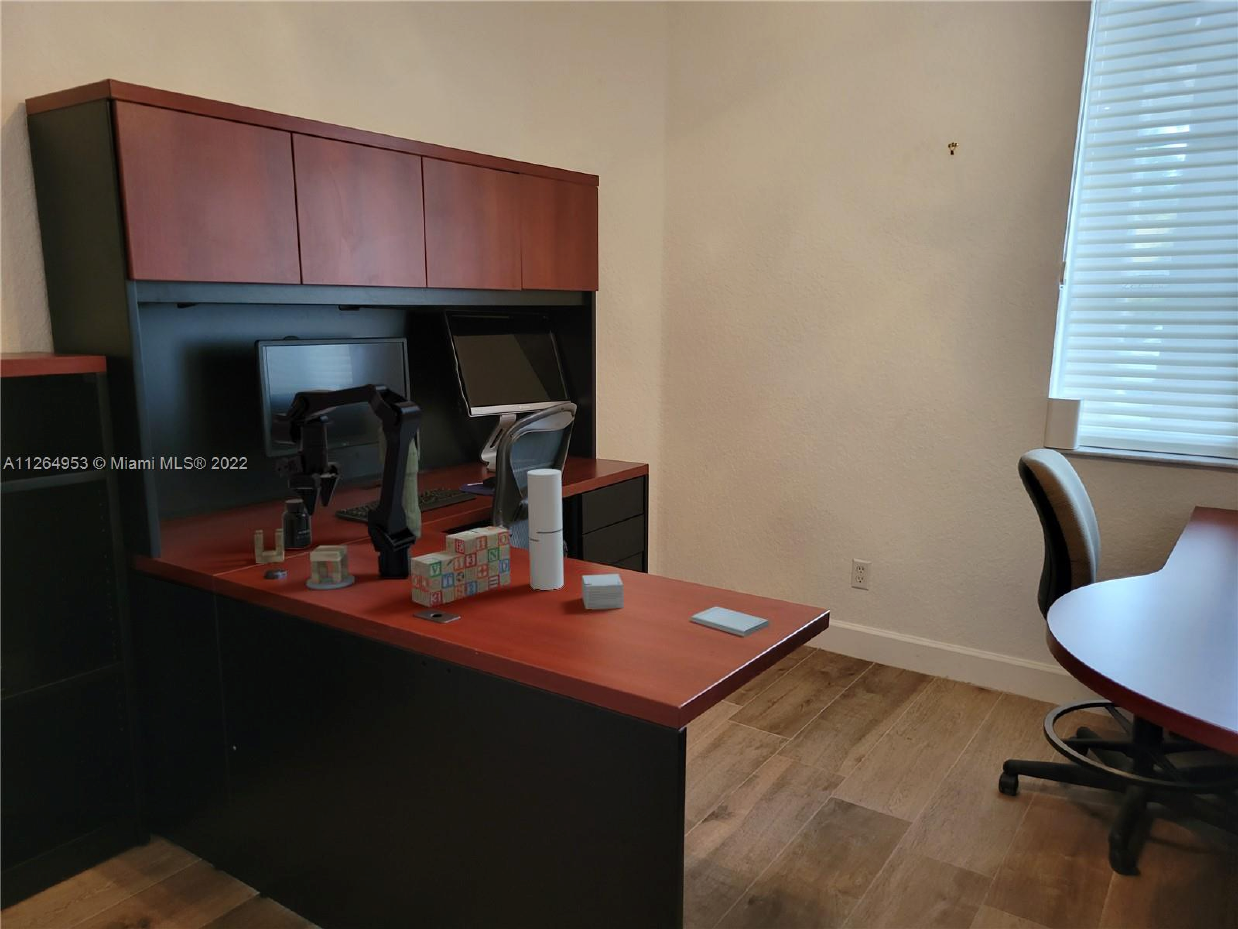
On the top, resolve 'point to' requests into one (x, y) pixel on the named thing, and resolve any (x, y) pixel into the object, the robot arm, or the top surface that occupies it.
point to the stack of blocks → (462, 566)
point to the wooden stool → (321, 567)
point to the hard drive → (730, 621)
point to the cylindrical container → (545, 529)
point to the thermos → (407, 481)
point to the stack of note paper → (602, 591)
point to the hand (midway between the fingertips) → (318, 511)
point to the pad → (330, 583)
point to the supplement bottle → (296, 525)
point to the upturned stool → (272, 554)
